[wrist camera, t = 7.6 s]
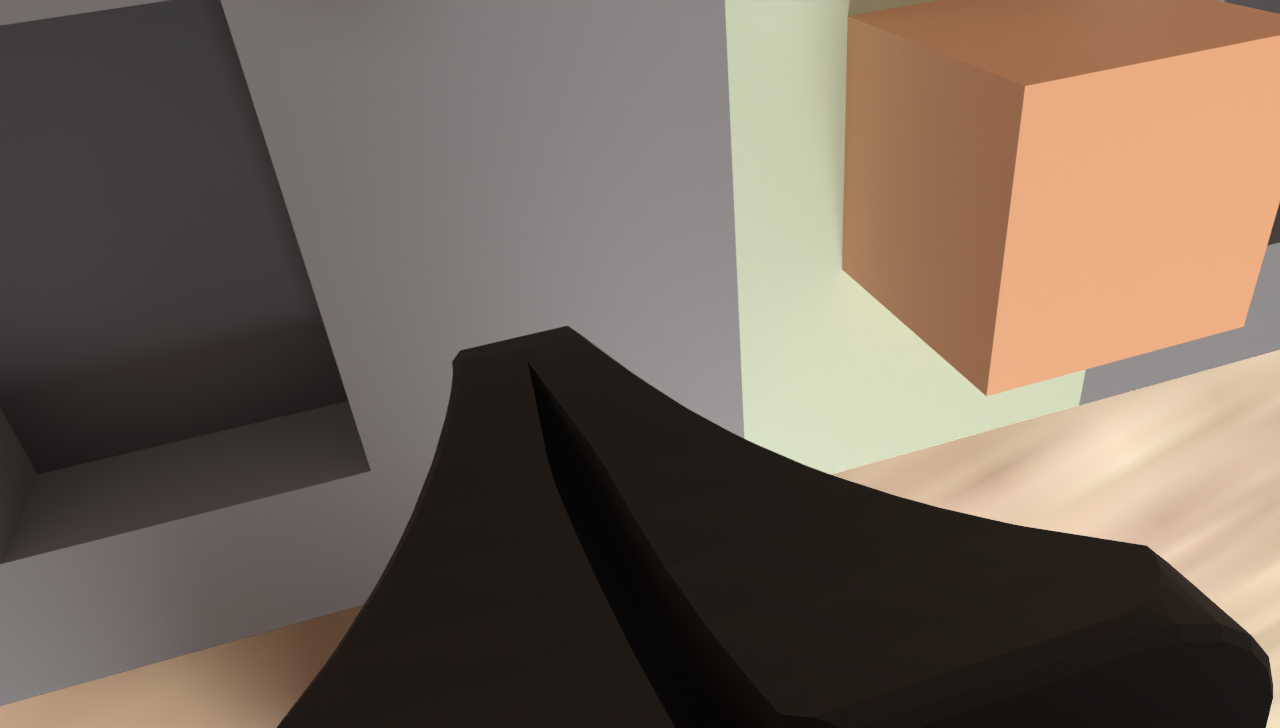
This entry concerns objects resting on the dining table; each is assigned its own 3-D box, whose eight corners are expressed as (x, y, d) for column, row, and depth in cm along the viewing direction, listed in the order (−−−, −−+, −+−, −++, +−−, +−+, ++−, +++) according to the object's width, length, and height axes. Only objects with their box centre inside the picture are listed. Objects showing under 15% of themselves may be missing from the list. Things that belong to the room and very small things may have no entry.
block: (1053, 220, 18) (1243, 326, 14) (842, 269, 17) (986, 396, 14) (1091, -28, 16) (1331, 24, 12) (847, 16, 15) (1024, 86, 11)
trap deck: (1291, 266, 25) (1397, 316, 23) (29, 592, 19) (-14, 709, 17) (1497, -396, 18) (1689, -429, 15) (-473, -209, 12) (-687, -212, 9)
